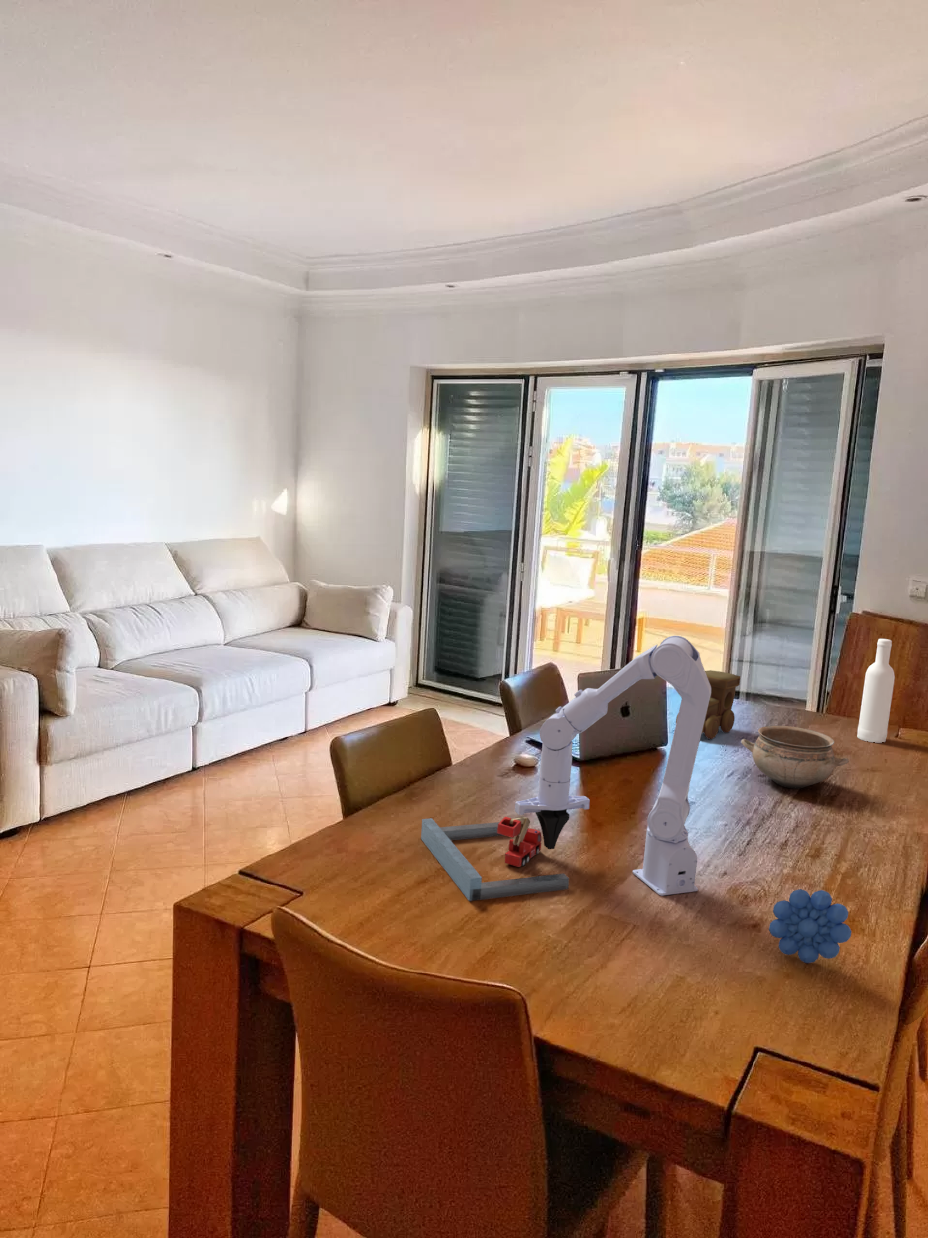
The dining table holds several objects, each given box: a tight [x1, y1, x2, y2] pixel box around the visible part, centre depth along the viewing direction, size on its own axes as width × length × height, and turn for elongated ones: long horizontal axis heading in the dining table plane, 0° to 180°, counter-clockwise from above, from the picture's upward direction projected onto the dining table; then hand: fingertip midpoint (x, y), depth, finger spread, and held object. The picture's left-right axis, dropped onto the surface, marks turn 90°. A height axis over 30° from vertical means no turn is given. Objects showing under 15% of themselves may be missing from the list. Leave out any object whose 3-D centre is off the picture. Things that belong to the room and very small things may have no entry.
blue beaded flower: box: [768, 888, 852, 964], centre depth 136 cm, size 12×7×12 cm, turn 56°
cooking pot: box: [740, 725, 850, 789], centre depth 218 cm, size 25×19×12 cm
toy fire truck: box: [497, 815, 542, 868], centre depth 165 cm, size 3×14×10 cm, turn 151°
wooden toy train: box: [675, 669, 741, 740], centre depth 260 cm, size 20×11×17 cm, turn 140°
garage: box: [420, 817, 570, 902], centre depth 164 cm, size 26×18×4 cm
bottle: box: [856, 638, 896, 744], centre depth 262 cm, size 8×8×30 cm
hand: (549, 847), depth 168 cm, fingers closed
